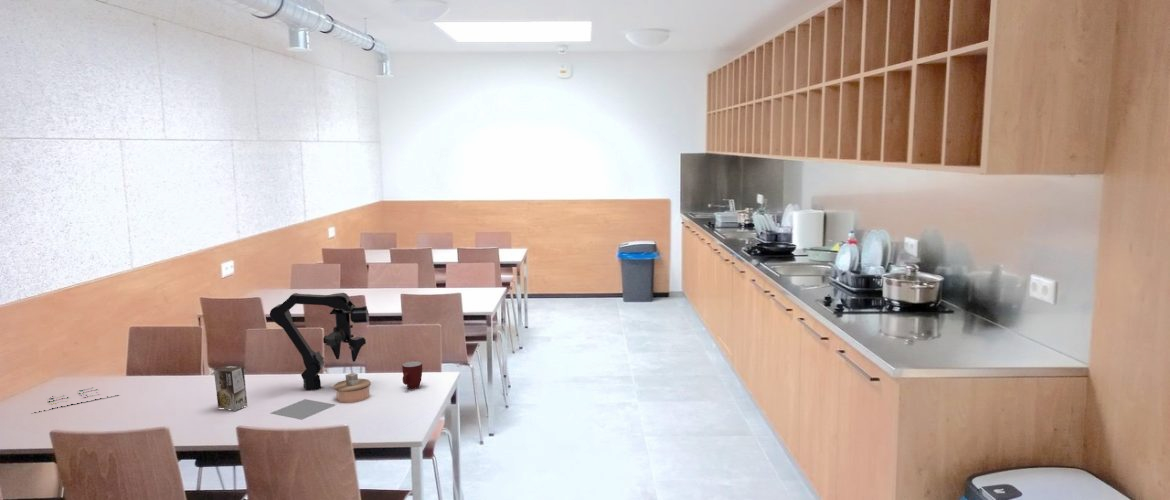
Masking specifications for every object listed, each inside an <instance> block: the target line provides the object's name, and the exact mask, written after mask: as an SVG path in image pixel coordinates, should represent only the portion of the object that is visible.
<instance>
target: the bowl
mask: <svg viewBox="0 0 1170 500" xmlns="http://www.w3.org/2000/svg"><path fill="white" fill-rule="evenodd" d="M370 393H371V392H370V386H369V387H367V388H365V389H362V390H358V391H351V392H340V391H336V400H338V401H339V402H341V403H355V402H360V401H363V400H366V399H368V398H369V397H370V395H371V394H370Z"/></svg>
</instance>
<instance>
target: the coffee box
mask: <svg viewBox="0 0 1170 500" xmlns="http://www.w3.org/2000/svg"><path fill="white" fill-rule="evenodd" d="M213 374H214V382H215V390H216V400H217V408H224V409H231V410H237V409H240V408H242V407H244V406H247V407H248V400H247V399H248V397H247V389H246V379H245V368H244V366H237V365H224V366H222V367H221V366H220V367H219V368H216V369H214V370H213ZM244 408H245V407H244ZM242 409H243V408H242ZM240 410H241V409H240ZM237 411H238V410H237Z"/></svg>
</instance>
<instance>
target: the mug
mask: <svg viewBox="0 0 1170 500" xmlns="http://www.w3.org/2000/svg"><path fill="white" fill-rule="evenodd" d="M401 369H402V384H404V385H405V386H407V387H408V389H410V390H414V389H418V388H419V387H420V385H421V382H422V377H423V362H421V361H415V360H414V361H406V362H404V363H402V366H401Z"/></svg>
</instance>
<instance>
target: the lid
mask: <svg viewBox="0 0 1170 500" xmlns="http://www.w3.org/2000/svg"><path fill="white" fill-rule="evenodd" d="M358 376H359V375H358V373H355V372H350V373H348V374H345V379H344V380H342V381H338V382H336V383H335V384H334V385H333V389H334V390H335V391H336V392H337V391H340V392H351V391H358V390H362V389H365V388H367V387H369V388H370V386H371V385H372V384H371V380H369V379H366V378H359V377H358Z"/></svg>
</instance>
